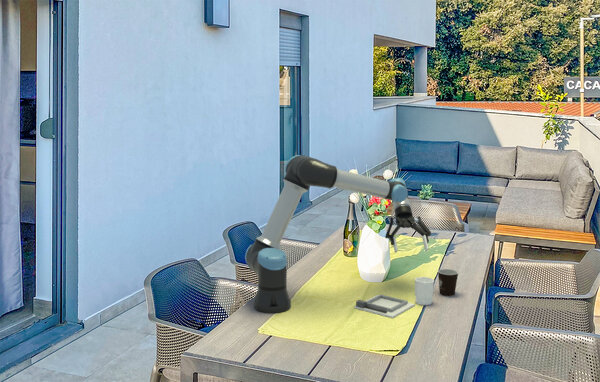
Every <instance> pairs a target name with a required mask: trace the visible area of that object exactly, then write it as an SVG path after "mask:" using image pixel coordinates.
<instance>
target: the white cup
mask: <svg viewBox="0 0 600 382" xmlns="http://www.w3.org/2000/svg"><path fill="white" fill-rule="evenodd" d="M434 285H435V279H433V278H431V277H429V276H428V277H427V276H426V277H425V276H419V277H415V279H414V295H415V303H416V304H417V305H419V306H430V305H432V304H433V297H434V288H435V287H434Z"/></svg>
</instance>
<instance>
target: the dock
mask: <svg viewBox="0 0 600 382" xmlns="http://www.w3.org/2000/svg"><path fill="white" fill-rule="evenodd" d="M413 306H414V307H415V306H416V304H415V303H411V302H408V300H405V299H401V298H398V297H397V298H396V297H393V296H388V295H385V294H377V295H375V296H372V297H371V298H368V299H366V300H362V299H358V300H356V302H355V305H354V306H353V307H354V309H356V310H360V311H362V312H363V311H364V312H366V313H367V312H368V313H371V314H375V315H379V316H383V317H386V318H389V317H390V318H389V319H394V318H396V317H398V316H399V315H401V314H403V313H405V312H406V310H407V311H408V310H410V309H412V308H413ZM411 307H412V308H411ZM409 308H410V309H409ZM404 311H405V312H404ZM402 312H403V313H402ZM397 315H398V316H397Z"/></svg>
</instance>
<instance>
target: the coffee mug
mask: <svg viewBox="0 0 600 382" xmlns="http://www.w3.org/2000/svg"><path fill="white" fill-rule="evenodd" d="M437 273H438V274H437V275H438V289H439V295H441V296H443V297H453V296H455V293H456V287H457V282H458V276H459V271H457V270H455V269H452V268H451V269H449V268H442V269H438V270H437Z"/></svg>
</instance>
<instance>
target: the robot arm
mask: <svg viewBox="0 0 600 382" xmlns="http://www.w3.org/2000/svg"><path fill="white" fill-rule="evenodd" d="M284 170H285V176H284V178H283V179H282V180H283V184H284V186H283V188H282V191H281V192H280V195H279V196H278V199H277V202H276V204H274V208H273V209H272V213H271V214H270V216H269V218H268V220H267V223H266V225H265V227H264V229H263V232H262V234H261V235H259V236H257V237H255V238H256V239H255V240H254V243H252V244H250V245H249V246H248V248H247V249H246V251H245V255H244V260H245V263H246V265H247V266H248V268H249V269H250V270H251V271H253V272H254V273H255V274H256V275H257V277H258V278H257V280H258V281H257V287H258V288H257V291H256V294H255V298H254V301H253V307H254V309H255V310H256V311H258V312H261V313H268V314H276V313H278V314H279V313H282V312H286V311H288V310H290V309H291V308H292V302H291V300H292V299H290V296H289V292H288V288H287V280H288V279H287V278H288V277H287V275H288V274H287V273H288V272H287V271H288V270H287V269H288V266H287V264H288V259H287V254H286V252H285V251H284V250H282V247H281V242H282V240H283V238H284V235H285V233H286V231H287V229H288V227H289V224H290V222H291V221H292V218H293V216H294V213H295V212H296V209H297V207H298V205H299V202H300V200H301V198H302V196H303V194H305V193H307V192H309V189H310V187H317V188H326V189H333V188H336V189H337V188H338V189H341V190H346V191H350V192H354V193H359V194H363V195H367V196H372V197H376V198H380V199H384V200H388V201H392V206H393V209H394V217H395V218H393V217H390V219H389V222H388V223H389V225H388V228H387V230H386V233H385V235H384V238H385V239H389V241H390V245H391V246H393V250H394V253H398V250H399V249H398V243H397V239H396V234H397V232H398V231H399V230H400V229H401V228H402V229H410V228H411V229H413V230H414V231H415V232H417V233H418V234H419V235H420V236H421V237H422V243H423V245H424V247H423V248H424V251H425V252H428V250H429V245H428V244H429V242H430V241H429V237H431V234H432V232H431V230H430V229H429V228H428V226H427V225H426V224H425V223H424V222H423V220H422V218H421V216H416V217H414V216H413V211H412V207H411V202H410V198H409V194H408V188H407V185H406V182H405V180H404V179H403V178H401V177H394V178H392V179H390V180H385V179H381V178H378V177H377V178H375V177H370V176H367V175H362V174H358V173H354V172H351V171H350V172H349V171H346V170H342V169H339V168H338V167H337V166H335V165H332V164H329V163H326V162H324V161H322V160H319V159H317V158H314V157H311V156H308V155H303V154H301V155H300V154H298V155H294V156H292V157H290V158H289V159H288V161H287V162H286V164H285V169H284ZM395 223H396V224H397V225H396V226H395V228H394V229H393V231H392V232H391V229H392V226H393V225H394V224H395Z"/></svg>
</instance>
